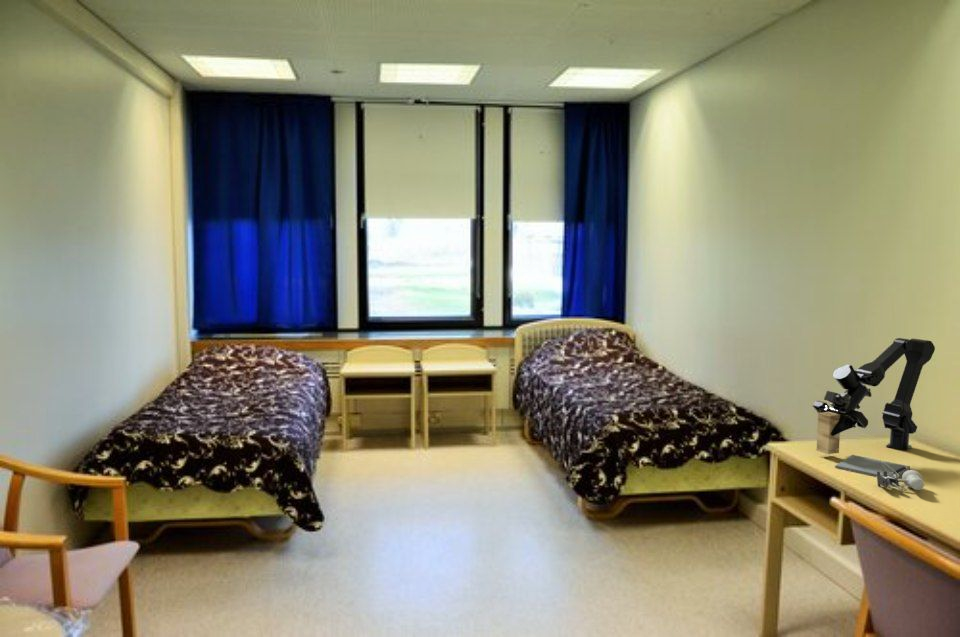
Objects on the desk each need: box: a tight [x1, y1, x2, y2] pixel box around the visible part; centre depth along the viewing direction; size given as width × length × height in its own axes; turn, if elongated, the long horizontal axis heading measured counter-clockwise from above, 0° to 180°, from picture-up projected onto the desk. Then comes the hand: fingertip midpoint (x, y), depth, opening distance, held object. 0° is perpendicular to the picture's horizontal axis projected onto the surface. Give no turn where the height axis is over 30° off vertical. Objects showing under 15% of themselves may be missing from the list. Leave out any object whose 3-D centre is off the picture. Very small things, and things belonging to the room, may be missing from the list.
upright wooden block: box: [816, 412, 841, 455], centre depth 234 cm, size 5×5×13 cm
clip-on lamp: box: [876, 460, 925, 492], centre depth 207 cm, size 12×6×18 cm
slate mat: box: [834, 454, 911, 479], centre depth 223 cm, size 16×17×1 cm
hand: (825, 432), depth 233 cm, fingers closed on upright wooden block, 5 cm apart
